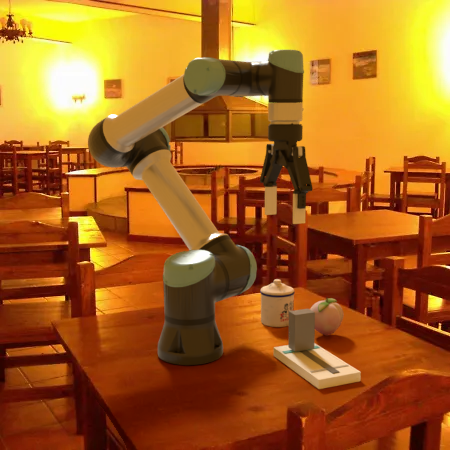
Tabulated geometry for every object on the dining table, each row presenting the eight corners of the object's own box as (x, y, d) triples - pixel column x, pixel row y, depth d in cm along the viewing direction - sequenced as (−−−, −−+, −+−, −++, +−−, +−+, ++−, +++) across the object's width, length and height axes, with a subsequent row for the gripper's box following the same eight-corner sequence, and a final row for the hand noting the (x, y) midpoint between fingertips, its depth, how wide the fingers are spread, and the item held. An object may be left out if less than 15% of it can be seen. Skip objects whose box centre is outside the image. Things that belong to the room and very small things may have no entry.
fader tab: (294, 351, 143) (295, 315, 142) (288, 347, 146) (288, 311, 144) (314, 348, 145) (314, 312, 144) (307, 344, 148) (308, 308, 146)
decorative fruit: (314, 327, 167) (315, 290, 165) (345, 332, 163) (346, 294, 162) (303, 339, 158) (303, 300, 157) (335, 343, 155) (336, 303, 153)
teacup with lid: (285, 330, 165) (286, 286, 163) (254, 324, 170) (254, 281, 168) (303, 317, 175) (304, 275, 174) (273, 312, 180) (273, 272, 178)
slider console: (318, 389, 129) (318, 378, 129) (273, 355, 148) (273, 346, 147) (360, 381, 133) (360, 371, 133) (311, 349, 151) (311, 340, 151)
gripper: (330, 123, 131) (328, 226, 134) (274, 122, 153) (273, 210, 157) (298, 123, 128) (296, 228, 132) (246, 122, 151) (245, 212, 154)
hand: (284, 218), depth 144 cm, fingers open, 13 cm apart
